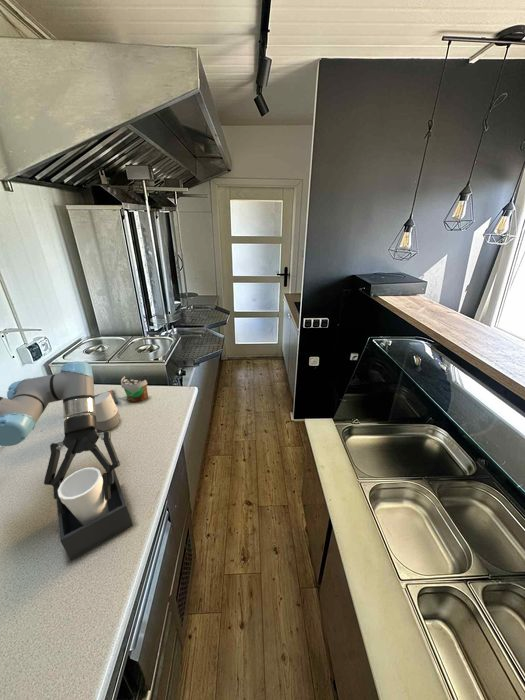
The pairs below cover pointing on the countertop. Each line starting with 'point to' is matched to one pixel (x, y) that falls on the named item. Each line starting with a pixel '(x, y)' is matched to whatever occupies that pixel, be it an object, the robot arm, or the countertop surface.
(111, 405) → the smart speaker
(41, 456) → the countertop surface
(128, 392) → the food container
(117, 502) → the dark grey open box
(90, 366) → the robot arm
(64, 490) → the foam cup
